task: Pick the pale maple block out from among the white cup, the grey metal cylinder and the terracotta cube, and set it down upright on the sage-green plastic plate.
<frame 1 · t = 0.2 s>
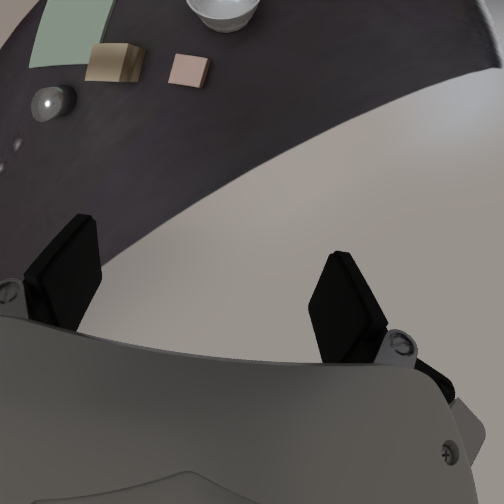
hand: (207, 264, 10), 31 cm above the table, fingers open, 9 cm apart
grey metal cylinder: (64, 100, 30), on the table
white cup: (226, 13, 26), on the table
terracotta cube: (192, 72, 31), on the table
sage plate: (72, 25, 23), on the table
maple block: (126, 64, 29), on the table
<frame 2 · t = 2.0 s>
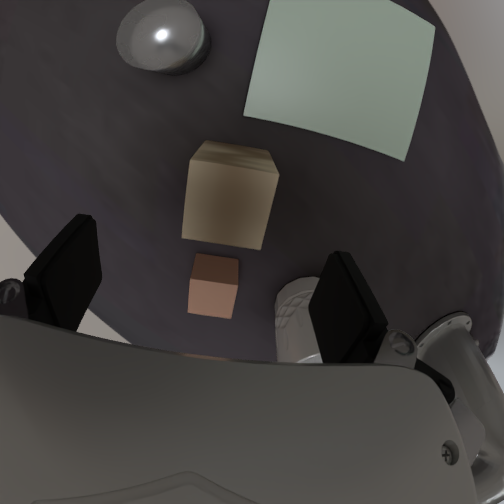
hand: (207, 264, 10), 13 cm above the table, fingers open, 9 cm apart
grey metal cylinder: (178, 46, 16), on the table
white cup: (305, 299, 30), on the table
terracotta cube: (214, 272, 27), on the table
sage plate: (348, 57, 17), on the table
maple block: (231, 174, 22), on the table
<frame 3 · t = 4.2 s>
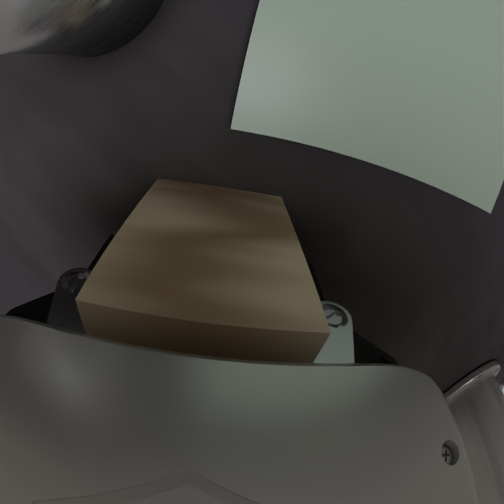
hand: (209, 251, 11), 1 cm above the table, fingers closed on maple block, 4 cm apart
grey metal cylinder: (105, 2, 6), on the table
sage plate: (428, 30, 7), on the table
maple block: (211, 240, 12), on the table, touching gripper
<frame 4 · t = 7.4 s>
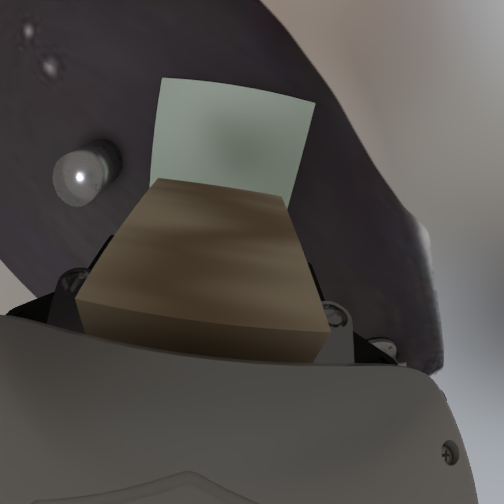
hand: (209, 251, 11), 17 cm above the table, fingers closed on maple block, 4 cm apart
grey metal cylinder: (101, 161, 25), on the table
sage plate: (225, 155, 25), on the table
maple block: (211, 240, 12), point 16 cm above the table, touching gripper
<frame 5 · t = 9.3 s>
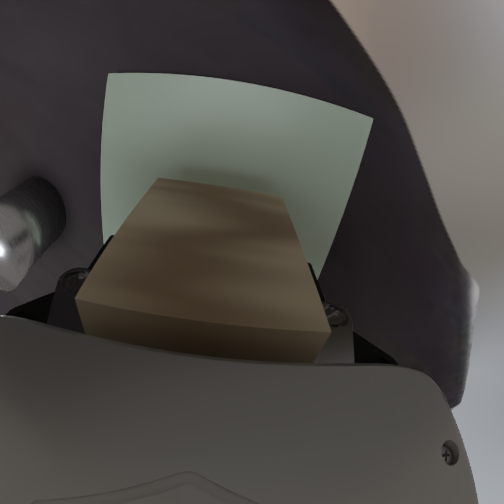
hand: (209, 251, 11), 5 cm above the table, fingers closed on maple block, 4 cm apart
grey metal cylinder: (39, 209, 15), on the table
sage plate: (219, 203, 16), on the table
maple block: (211, 240, 12), point 4 cm above the table, touching gripper
when the fingers open (3 cm above the table, at t = 10.6 s): maple block drops 1 cm, resting on sage plate.
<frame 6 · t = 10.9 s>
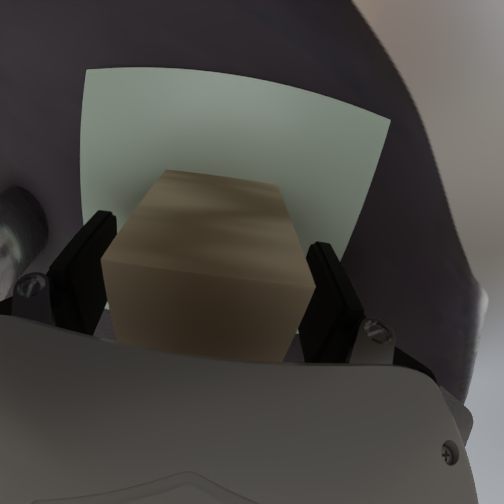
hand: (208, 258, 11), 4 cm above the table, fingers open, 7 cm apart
grey metal cylinder: (21, 221, 13), on the table
sage plate: (214, 216, 14), on the table
maple block: (214, 225, 13), point 1 cm above the table, touching sage plate
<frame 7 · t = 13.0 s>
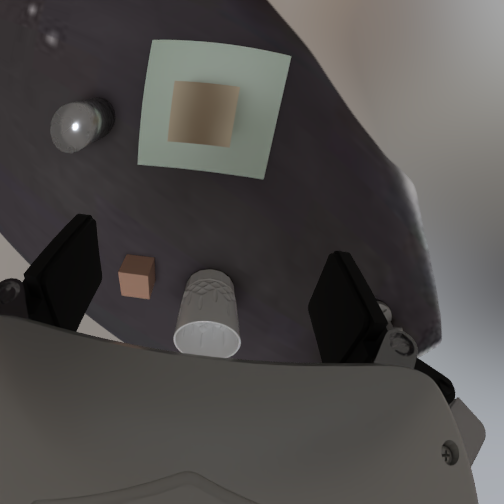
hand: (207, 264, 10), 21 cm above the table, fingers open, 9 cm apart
grey metal cylinder: (95, 118, 25), on the table
white cup: (210, 286, 39), on the table
terracotta cube: (141, 267, 36), on the table
sage plate: (209, 106, 26), on the table
maple block: (209, 107, 25), point 1 cm above the table, touching sage plate
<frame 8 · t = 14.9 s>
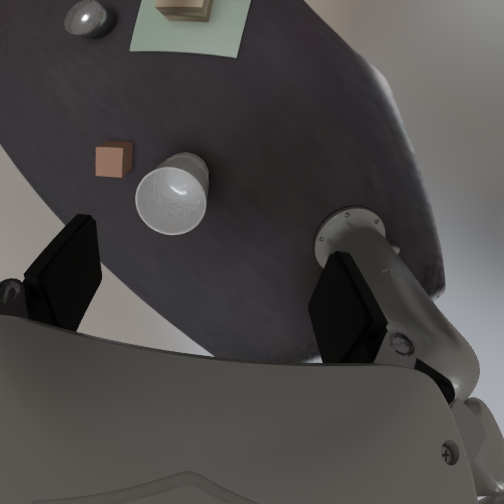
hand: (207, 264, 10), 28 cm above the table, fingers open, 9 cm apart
grey metal cylinder: (101, 23, 23), on the table
white cup: (185, 174, 37), on the table
terracotta cube: (119, 154, 34), on the table
sage plate: (193, 7, 24), on the table
maple block: (192, 5, 23), point 1 cm above the table, touching sage plate
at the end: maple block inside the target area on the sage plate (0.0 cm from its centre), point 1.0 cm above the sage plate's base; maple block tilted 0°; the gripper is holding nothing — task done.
